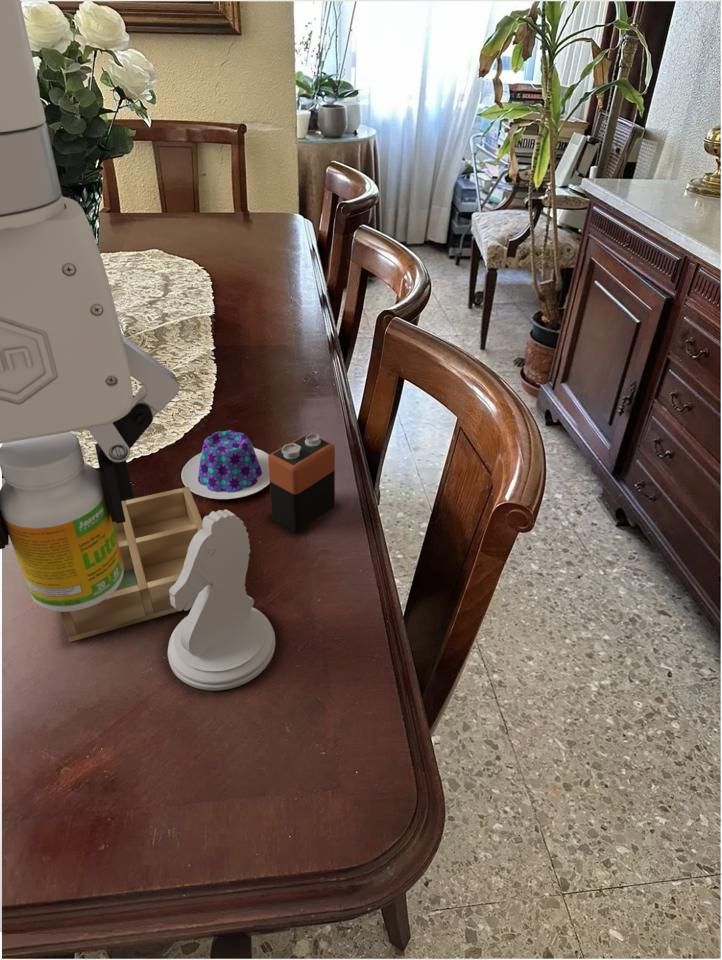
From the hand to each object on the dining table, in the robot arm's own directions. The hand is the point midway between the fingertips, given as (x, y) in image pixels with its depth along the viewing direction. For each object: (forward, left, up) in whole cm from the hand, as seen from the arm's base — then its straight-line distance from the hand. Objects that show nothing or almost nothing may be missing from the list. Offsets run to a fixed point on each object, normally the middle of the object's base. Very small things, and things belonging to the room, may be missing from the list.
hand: (60, 518), depth 37 cm
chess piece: (+9, +9, -25) cm, 28 cm away
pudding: (+17, +36, -25) cm, 47 cm away
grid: (+4, +23, -25) cm, 34 cm away
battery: (+23, +25, -25) cm, 43 cm away
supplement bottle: (0, 0, -5) cm, 5 cm away
